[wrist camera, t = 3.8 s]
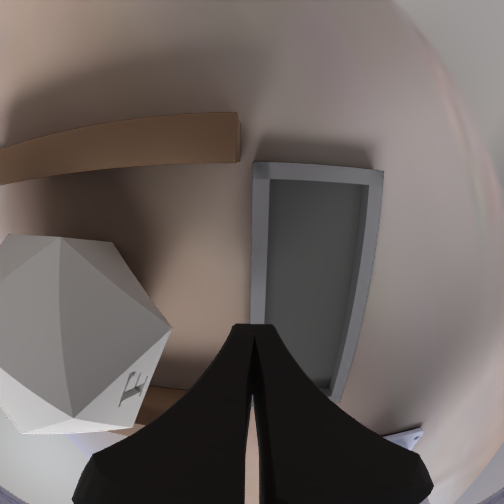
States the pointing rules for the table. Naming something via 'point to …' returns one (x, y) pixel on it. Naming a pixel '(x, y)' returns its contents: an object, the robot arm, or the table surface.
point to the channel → (128, 155)
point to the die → (74, 336)
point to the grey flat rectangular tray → (314, 261)
